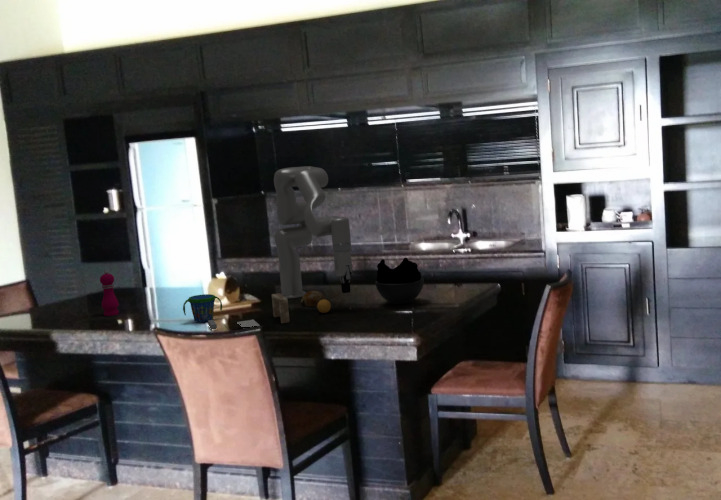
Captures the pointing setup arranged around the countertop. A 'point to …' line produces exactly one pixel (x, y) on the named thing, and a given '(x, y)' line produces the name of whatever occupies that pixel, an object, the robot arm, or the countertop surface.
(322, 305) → the ball
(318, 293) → the bread roll
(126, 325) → the countertop surface
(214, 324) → the stopper
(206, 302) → the snack cup
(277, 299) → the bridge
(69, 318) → the countertop surface
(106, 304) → the pepper mill
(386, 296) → the bowl of black rocks
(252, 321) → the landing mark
